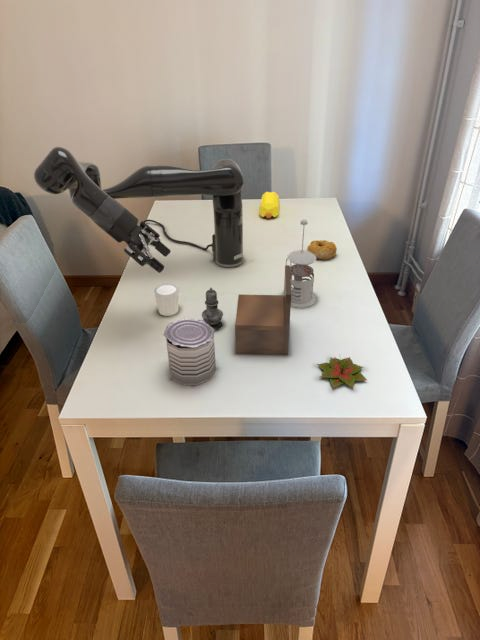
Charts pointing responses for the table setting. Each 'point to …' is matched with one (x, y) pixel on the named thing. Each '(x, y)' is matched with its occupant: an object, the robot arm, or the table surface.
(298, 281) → the french press
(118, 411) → the table surface
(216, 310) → the chess piece
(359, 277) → the table surface
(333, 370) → the succulent plant
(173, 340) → the can
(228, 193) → the robot arm
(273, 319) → the l-shaped wooden block
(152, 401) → the table surface
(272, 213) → the yellow lumpy bar
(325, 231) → the table surface
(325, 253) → the bagel
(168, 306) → the white short cylinder
